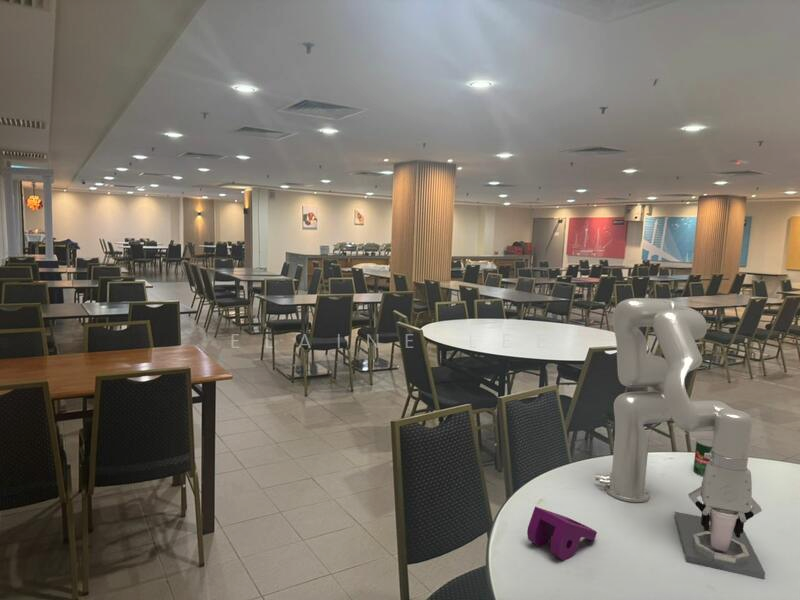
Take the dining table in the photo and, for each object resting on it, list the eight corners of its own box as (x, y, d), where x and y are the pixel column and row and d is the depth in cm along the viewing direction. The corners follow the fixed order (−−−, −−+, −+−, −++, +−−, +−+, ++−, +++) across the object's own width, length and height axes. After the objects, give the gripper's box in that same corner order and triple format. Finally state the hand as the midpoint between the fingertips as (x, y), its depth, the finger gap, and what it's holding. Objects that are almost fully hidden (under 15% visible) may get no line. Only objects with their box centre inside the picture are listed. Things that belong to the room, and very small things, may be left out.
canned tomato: (691, 474, 182) (694, 442, 181) (695, 467, 188) (698, 436, 187) (718, 481, 177) (721, 448, 176) (721, 473, 183) (724, 442, 182)
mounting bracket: (561, 549, 142) (523, 539, 132) (572, 518, 144) (535, 506, 133) (593, 567, 135) (555, 558, 124) (604, 534, 136) (567, 522, 126)
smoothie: (707, 536, 136) (713, 483, 135) (736, 546, 132) (743, 492, 131) (702, 546, 131) (708, 491, 130) (732, 557, 127) (739, 500, 126)
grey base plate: (686, 561, 129) (688, 540, 128) (674, 516, 151) (676, 497, 150) (764, 579, 123) (767, 556, 122) (740, 529, 145) (742, 510, 145)
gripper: (691, 460, 129) (683, 531, 131) (775, 473, 123) (766, 548, 125) (686, 449, 136) (679, 517, 138) (766, 462, 130) (758, 532, 132)
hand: (721, 531), depth 131 cm, fingers closed on smoothie, 6 cm apart
